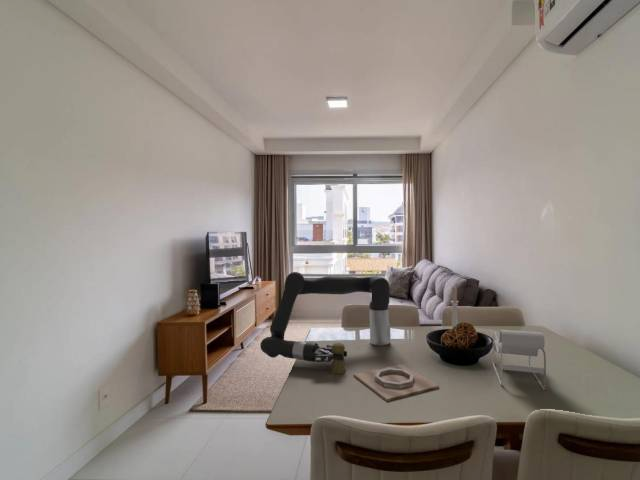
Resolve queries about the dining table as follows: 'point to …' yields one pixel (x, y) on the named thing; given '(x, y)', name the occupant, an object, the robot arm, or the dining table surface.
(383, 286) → the robot arm
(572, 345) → the dining table surface
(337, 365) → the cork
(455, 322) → the candlestick
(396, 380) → the collar holder
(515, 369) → the chair
